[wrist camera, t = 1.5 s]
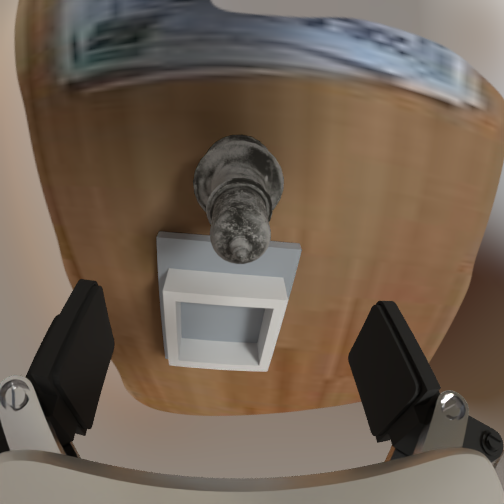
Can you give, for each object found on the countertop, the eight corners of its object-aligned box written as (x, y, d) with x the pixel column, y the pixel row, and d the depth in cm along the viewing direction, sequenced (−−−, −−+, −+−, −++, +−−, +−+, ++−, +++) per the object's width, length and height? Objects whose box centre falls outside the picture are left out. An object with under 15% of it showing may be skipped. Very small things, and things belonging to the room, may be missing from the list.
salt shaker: (196, 200, 24) (171, 306, 14) (201, 127, 21) (168, 185, 11) (271, 207, 24) (296, 314, 14) (282, 135, 21) (327, 200, 11)
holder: (159, 231, 25) (148, 258, 22) (299, 243, 26) (308, 271, 23) (166, 351, 34) (162, 379, 30) (268, 358, 35) (271, 386, 32)
